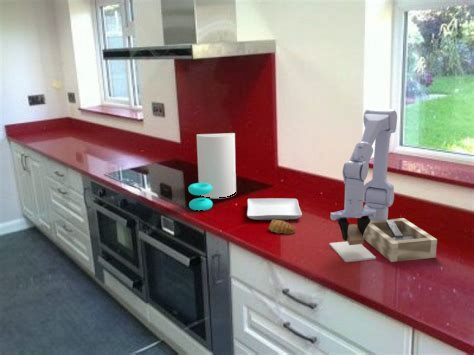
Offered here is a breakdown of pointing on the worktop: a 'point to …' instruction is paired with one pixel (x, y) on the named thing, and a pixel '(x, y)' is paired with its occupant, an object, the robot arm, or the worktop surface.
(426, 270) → the worktop surface
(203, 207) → the donuts
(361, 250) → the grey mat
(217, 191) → the cylinder
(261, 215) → the salad plate
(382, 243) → the pocket board
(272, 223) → the pastry
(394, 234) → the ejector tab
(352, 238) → the walnut bar
